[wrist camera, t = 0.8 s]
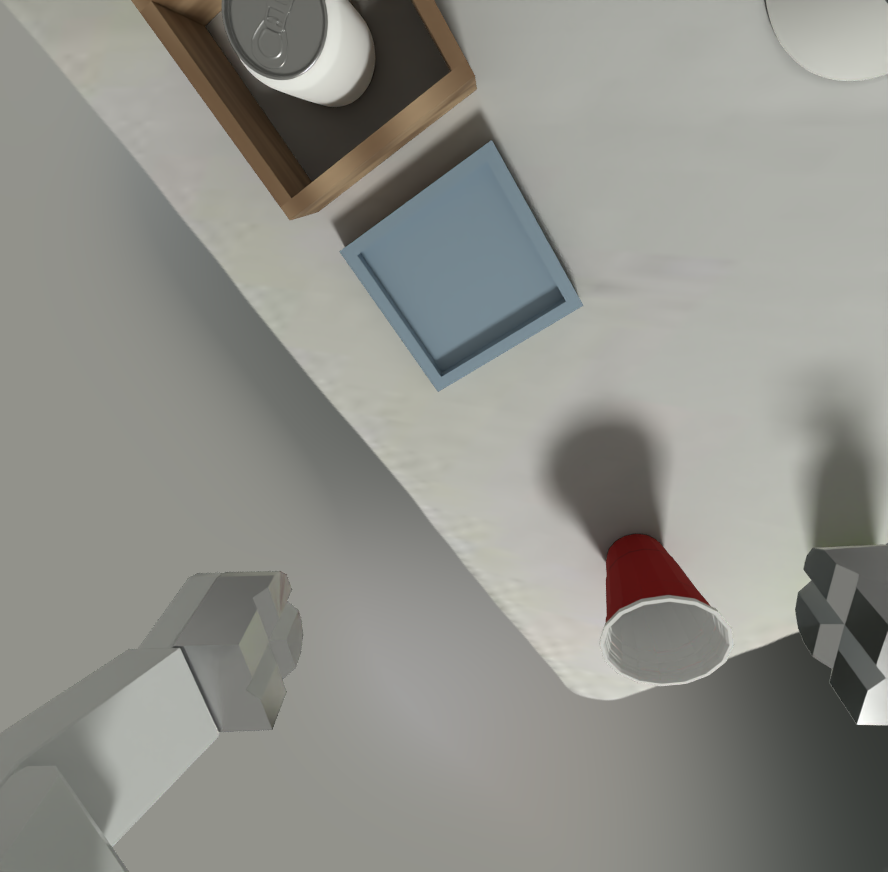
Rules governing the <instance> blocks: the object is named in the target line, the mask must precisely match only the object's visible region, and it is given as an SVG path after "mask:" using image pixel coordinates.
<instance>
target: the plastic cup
mask: <svg viewBox="0 0 888 872" xmlns="http://www.w3.org/2000/svg"><path fill="white" fill-rule="evenodd" d="M606 571H607V577H606V604H607V617H606V623H605V626H604V629H603V632H602V635H601V638H600V642H599V645H600V649H601V652H602V656H603V659H604V661H605V662H606V663H607V664H608V665H609V666H610V667H611V668H612V669H613V670H614V671H615V672H616V673H617V674H619V675H622V676H624V677H626V678H628V679H630V680H633V681H635V682H637V683H644V684H650V685H657V686H666V685H678V684H687V683H689V682H692V681H695V680H697V679H700V678H703V677H706V676H708V675H710V674H711V673H712V672H714V671H715V670H716V669H717V668H719V667H720V666H721V665H722V664H724V663H725V662H726V660H727V658H728V656H729V654H730V652H731V650H732V648H733V646H734V641H733V633H732V627H731V626H730V625H729V624H728V623H727V621H726V620H725V619H724V618H723V617H722V615H721V614H720V613H719V612H718V611H717V610H716V609H715V608H713V607H711V606H710V605H709V603H708V602H707V601H706V600H705V598H704V597H703V596H702V595H701V594H700V593H699V591H698V590H697V589H696V588H695V586H694V585H693V584H692V582H691V581H690V580H689V578H688V577H687V576H686V574H685V573H684V572H683V570H682V569H681V568H680V566H679V565H678V564H677V563H676V561H675V560H674V559H673V558H672V557H671V556H670V555H669V554H668V552H667V551H666V550H665V548H664V547H663V546H662V545H661V544H660V542H658V541H657V540H656V539H654V538H652V537H650V536H648V535H643V534H632V535H627V536H624V537H622V538H620V539H619V540H617V541H615V542H614V544H613V545H612V546H611V547H610V548H609V551H608V555H607V560H606Z"/></svg>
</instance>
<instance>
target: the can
mask: <svg viewBox="0 0 888 872" xmlns="http://www.w3.org/2000/svg"><path fill="white" fill-rule="evenodd" d="M222 18H223V23H224V27H225V31H226V34H227V37H228V39H229V41H230V43H231V45H232V47H233V49H234V50H235V52H236V54H237V55H238V56H239V58H240V60H241V61H242V63H243V64H244V66H245V67H246V68H247V69H248V70H249V71H250V73H251V74H252V75H254V76H255V77H256V78H257V79H258V80H260V81H261V82H262V83H264V84H265V85H267V86H269V87H271V88H273V89H276V90H278V91H281V92H283V93H286V94H289V95H292V96H295V97H298V98H301V99H304V100H307V101H310V102H313V103H316V104H320V105H324V106H329V107H341V106H345V105H348V104H350V103H352V102H354V101H355V100H357V99H358V98H359V97H360V96H361V95H362V94H363V93H364V92H365V90H366V89H367V87H368V85H369V83H370V81H371V79H372V76H373V72H374V68H375V47H374V42H373V38H372V35H371V32H370V30H369V28H368V26H367V24H366V22H365V21H364V19H363V18H362V16H361V15H360V14H359V13H358V11H357V10H356V9H355V8H354V7H353V5H352V4H351V3H350V2H349V1H348V0H222Z"/></svg>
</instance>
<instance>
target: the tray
mask: <svg viewBox="0 0 888 872" xmlns="http://www.w3.org/2000/svg"><path fill="white" fill-rule="evenodd" d="M340 253H341V254H342V256H343V257H344V259H345V260H346V262H347V263H348V264H349V266H350V267H351V269H352V270H353V272H354V273H355V274H356V276H357V277H358V279H359V280H360V281H361V283H362V284H363V286H364V287H365V289H366V290H367V291H368V293H369V294H370V296H371V297H372V299H373V300H374V301H375V303H376V304H377V306H378V307H379V309H380V310H381V311H382V313H383V314H384V316H385V317H386V319H387V320H388V321H389V323H390V324H391V326H392V327H393V328H394V330H395V331H396V333H397V334H398V336H399V337H400V338H401V340H402V341H403V343H404V344H405V346H406V347H407V348H408V350H409V351H410V353H411V354H412V356H413V357H414V358H415V360H416V361H417V363H418V364H419V366H420V367H421V368H422V370H423V371H424V373H425V374H426V376H427V377H428V378H429V380H430V381H431V383H432V384H433V385H434V387H435V388H436V390H437V391H438V392H439V391H440V390H442V389H444V388H445V387H447V386H449V385H450V384H452V383H454V382H456V381H457V380H459V379H461V378H462V377H464V376H466V375H467V374H469V373H471V372H472V371H474V370H476V369H477V368H479V367H481V366H482V365H484V364H486V363H487V362H489V361H491V360H493V359H494V358H496V357H498V356H499V355H501V354H503V353H504V352H506V351H508V350H509V349H511V348H513V347H514V346H516V345H518V344H519V343H521V342H523V341H524V340H526V339H528V338H529V337H531V336H533V335H535V334H536V333H538V332H540V331H541V330H543V329H545V328H546V327H548V326H550V325H551V324H553V323H555V322H556V321H558V320H560V319H561V318H563V317H565V316H566V315H568V314H570V313H572V312H573V311H575V310H577V309H578V308H580V307H582V306H583V304H582V302H581V300H580V299H579V297H578V295H577V293H576V291H575V290H574V288H573V286H572V284H571V282H570V281H569V279H568V277H567V275H566V273H565V271H564V270H563V268H562V266H561V264H560V262H559V261H558V259H557V257H556V255H555V253H554V252H553V250H552V248H551V246H550V244H549V243H548V241H547V239H546V237H545V235H544V234H543V232H542V230H541V228H540V226H539V224H538V223H537V221H536V219H535V217H534V215H533V214H532V212H531V210H530V208H529V206H528V205H527V203H526V201H525V199H524V197H523V196H522V194H521V192H520V190H519V188H518V187H517V185H516V183H515V181H514V179H513V177H512V176H511V174H510V172H509V170H508V168H507V167H506V165H505V163H504V161H503V159H502V158H501V156H500V154H499V152H498V150H497V149H496V147H495V145H494V143H493V141H492V140H491V141H490V142H488V143H487V144H485V145H484V146H483V147H481V148H480V149H479V150H477V151H476V152H475V153H473V154H472V155H470V156H469V157H468V158H466V159H465V160H464V161H462V162H461V163H460V164H458V165H457V166H455V167H454V168H453V169H451V170H450V171H449V172H447V173H446V174H445V175H443V176H442V177H440V178H439V179H438V180H436V181H435V182H434V183H432V184H431V185H430V186H428V187H427V188H425V189H424V190H423V191H421V192H420V193H419V194H417V195H416V196H415V197H413V198H412V199H410V200H409V201H408V202H406V203H405V204H404V205H402V206H401V207H400V208H398V209H397V210H395V211H394V212H393V213H391V214H390V215H389V216H387V217H386V218H385V219H383V220H382V221H380V222H379V223H378V224H376V225H375V226H374V227H372V228H371V229H370V230H368V231H367V232H365V233H364V234H363V235H361V236H360V237H359V238H357V239H356V240H355V241H353V242H352V243H350V244H349V245H348V246H346V247H345V248H344V249H342V250H341V251H340Z"/></svg>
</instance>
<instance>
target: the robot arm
mask: <svg viewBox="0 0 888 872" xmlns="http://www.w3.org/2000/svg"><path fill="white" fill-rule="evenodd" d="M766 4H767V10H768V14H769V18H770V21H771V24H772V27H773V30H774V32H775V34H776V36H777V38H778V40H779V42H780V43H781V45H782V47H783V48H784V49H785V51H786V52H787V53H788V54H789V55H790V57H791V58H792V59H793V60H794V61H796V62H797V63H798V64H799V65H801V66H802V67H803V68H805V69H806V70H808V71H810V72H812V73H814V74H816V75H819V76H821V77H824V78H828V79H833V80H839V81H859V80H867V79H872V78H876V77H880V76H883V75H886V74H888V0H766ZM803 570H804V571H805V572H806V574H807V575H808V576H809V578H810V579H811V581H810V582H809V583H808V584H807V585H806V586H805V587H804V588H802V589H801V590H800V591H799V592H798V596H797V602H796V608H795V612H796V619H797V625H798V629H799V632H800V634H801V637H802V639H803V642H804V643H805V645H806V647H807V648H808V650H809V652H810V653H811V655H812V656H813V657H814V658H816V659H817V660H819V661H820V662H822V663H824V664H825V665H827V666H828V667H830V668H832V673H831V678H830V681H829V682H830V684H831V686H832V687H833V689H834V690H835V692H836V693H837V695H838V697H839V698H840V700H841V701H842V703H843V704H844V706H845V707H846V709H847V710H848V712H849V713H850V715H851V716H852V718H853V720H854V721H855V722H856V724H857V725H888V543H887V544H886V545H883V544H880V545H860V546H840V547H820V548H812V549H811V551H810V552H809V553H808V555H807V556H806V560H805V565H804V569H803ZM291 591H292V588H291V585H290V582H289V580H288V577H287V574H285V573H283V572H281V571H263V572H261V571H260V572H259V571H258V572H225V573H197V574H195V575H193V576H191V577H189V578H188V579H187V581H186V582H185V583H184V585H183V586H182V588H181V589H180V590H179V592H178V593H177V595H176V596H175V597H174V599H173V600H172V602H171V603H170V604H169V606H168V607H167V609H166V610H165V611H164V613H163V614H162V616H161V617H160V618H159V620H158V621H157V623H156V624H155V625H154V627H153V628H152V630H151V631H150V632H149V634H148V635H147V637H146V638H145V639H144V641H143V642H142V644H141V645H140V646H139V648H138V649H128V650H126V651H125V652H124V653H122V654H120V655H119V656H117V657H116V658H114V659H113V660H111V661H110V662H108V663H107V664H105V665H104V666H102V667H100V668H99V669H97V670H96V671H94V672H93V673H91V674H90V675H88V676H87V677H85V678H84V679H82V680H81V681H79V682H78V683H76V684H74V685H73V686H72V687H70V688H68V689H67V690H65V691H64V692H62V693H61V694H59V695H58V696H56V697H55V698H53V699H52V700H50V701H48V702H47V703H45V704H44V705H43V706H41V707H39V708H38V709H36V710H35V711H33V712H32V713H30V714H29V715H27V716H26V717H24V718H22V719H21V720H20V721H18V722H16V723H15V724H14V725H12V726H10V727H9V728H7V729H6V730H4V731H3V732H1V733H0V872H129V870H128V869H127V868H126V866H125V865H124V863H123V862H122V860H121V859H120V858H119V856H118V855H117V853H116V852H115V850H114V849H113V847H112V846H114V845H115V844H116V842H117V841H118V840H119V839H120V838H121V837H122V836H123V835H124V834H125V833H126V832H127V831H128V830H129V829H130V828H131V827H132V826H133V825H134V824H135V823H136V822H137V821H138V820H139V818H141V817H142V815H143V814H144V813H145V812H146V811H147V810H148V809H149V808H150V807H151V806H152V805H153V804H154V803H155V802H156V801H157V800H158V799H159V798H160V797H161V796H162V795H163V794H164V793H165V792H166V791H167V789H168V788H169V787H170V786H171V785H172V784H173V783H174V782H175V781H176V780H177V779H178V778H179V777H180V776H181V775H182V774H183V773H184V772H185V771H186V770H187V769H188V768H189V767H190V766H191V765H192V763H193V762H194V761H195V760H196V759H197V758H198V757H199V756H200V755H201V754H202V753H203V752H204V751H205V750H206V749H207V748H208V747H209V746H210V745H211V743H213V742H214V741H215V739H216V738H218V736H219V732H234V731H259V730H272V729H273V727H274V724H275V721H276V719H277V716H278V713H279V711H280V708H281V706H282V703H283V700H284V698H285V695H286V692H287V691H286V689H285V686H284V683H283V679H284V678H285V677H286V676H287V675H288V674H289V673H291V672H292V671H293V670H294V669H295V668H296V665H297V663H298V660H299V657H300V654H301V648H302V639H303V629H302V620H301V617H300V614H299V610H298V609H297V608H295V607H294V606H293V605H292V604H290V603H289V602H288V601H287V600H288V598H289V596H290V593H291Z"/></svg>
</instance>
